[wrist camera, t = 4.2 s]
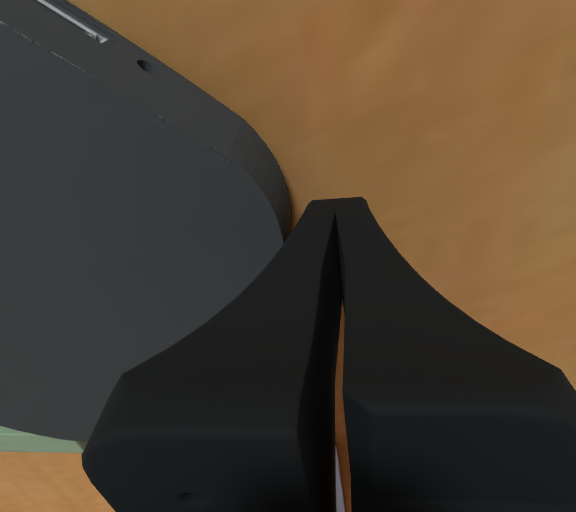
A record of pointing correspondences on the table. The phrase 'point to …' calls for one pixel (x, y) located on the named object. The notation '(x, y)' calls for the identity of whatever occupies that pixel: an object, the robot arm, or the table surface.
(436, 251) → the table surface
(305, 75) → the table surface
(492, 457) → the robot arm
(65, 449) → the sage u-shaped rail
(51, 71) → the media streaming box
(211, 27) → the table surface
